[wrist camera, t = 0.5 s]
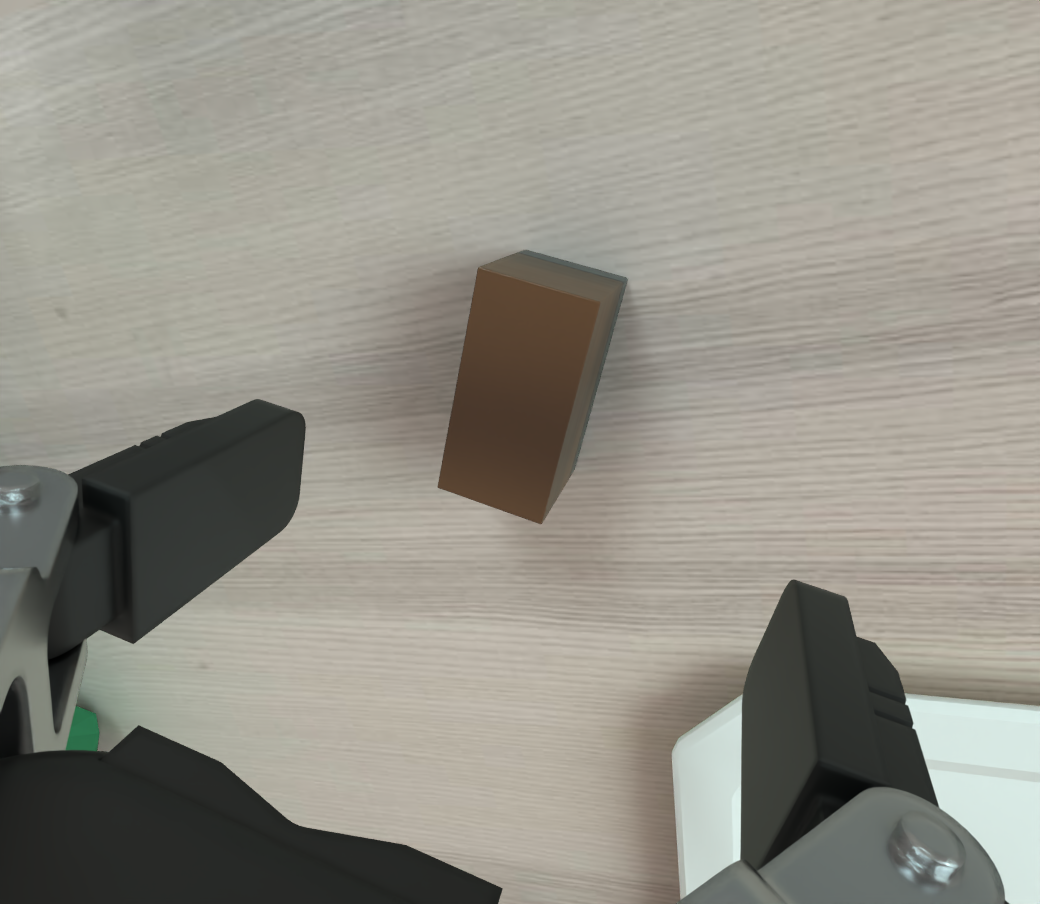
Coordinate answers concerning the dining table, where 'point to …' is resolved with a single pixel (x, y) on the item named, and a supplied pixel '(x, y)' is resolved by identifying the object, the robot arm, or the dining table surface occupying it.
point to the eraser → (528, 380)
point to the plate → (950, 762)
